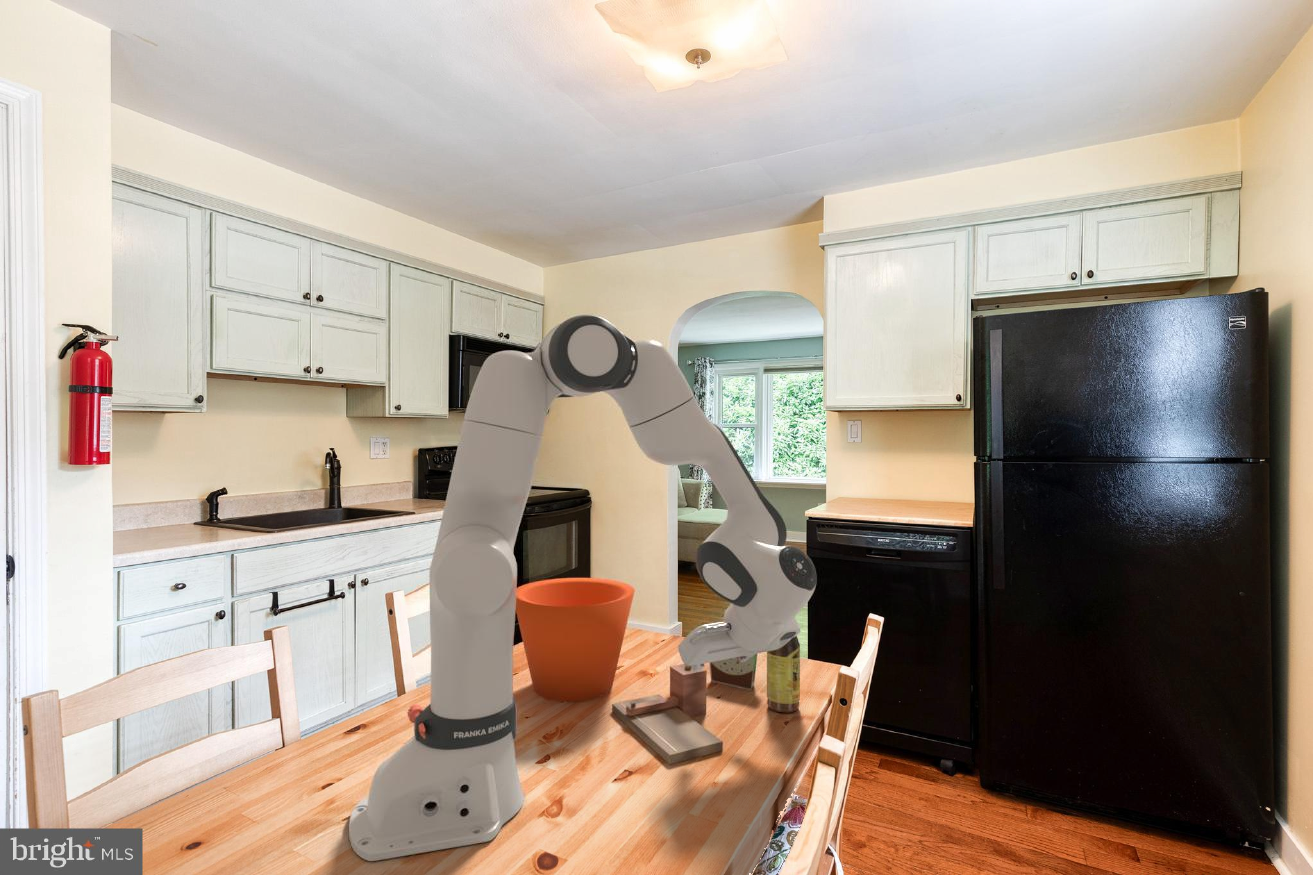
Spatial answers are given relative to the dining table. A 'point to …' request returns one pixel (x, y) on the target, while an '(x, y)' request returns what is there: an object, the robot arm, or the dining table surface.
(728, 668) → the food container
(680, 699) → the latch lever with knob
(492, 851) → the dining table surface
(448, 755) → the robot arm
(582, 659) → the flowerpot
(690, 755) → the plank
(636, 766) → the dining table surface
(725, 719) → the dining table surface
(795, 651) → the sauce bottle
